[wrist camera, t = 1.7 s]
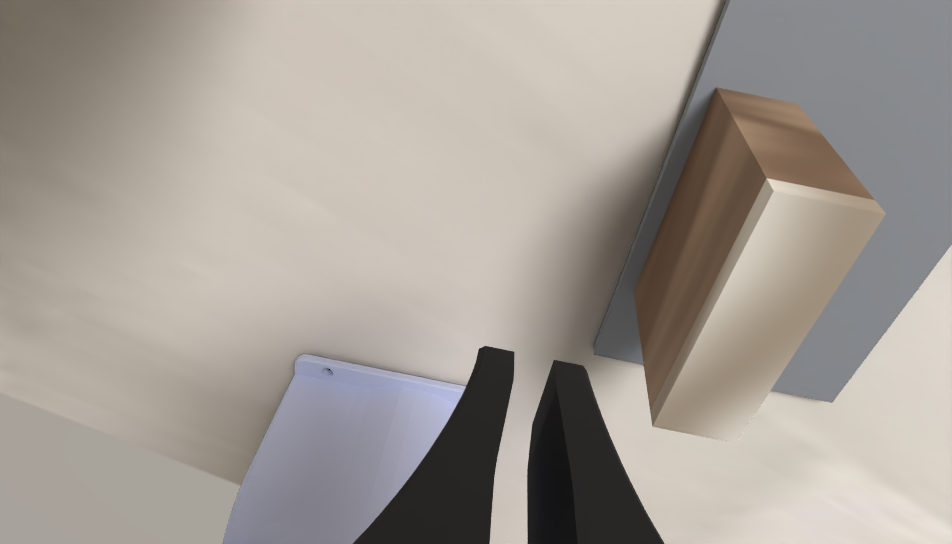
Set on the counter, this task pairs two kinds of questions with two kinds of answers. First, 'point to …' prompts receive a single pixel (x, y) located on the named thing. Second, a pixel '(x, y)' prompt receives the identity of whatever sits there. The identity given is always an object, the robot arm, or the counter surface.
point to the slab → (744, 262)
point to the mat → (854, 139)
